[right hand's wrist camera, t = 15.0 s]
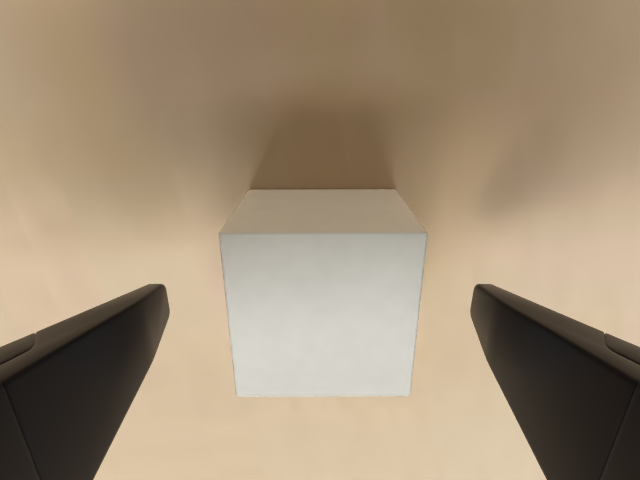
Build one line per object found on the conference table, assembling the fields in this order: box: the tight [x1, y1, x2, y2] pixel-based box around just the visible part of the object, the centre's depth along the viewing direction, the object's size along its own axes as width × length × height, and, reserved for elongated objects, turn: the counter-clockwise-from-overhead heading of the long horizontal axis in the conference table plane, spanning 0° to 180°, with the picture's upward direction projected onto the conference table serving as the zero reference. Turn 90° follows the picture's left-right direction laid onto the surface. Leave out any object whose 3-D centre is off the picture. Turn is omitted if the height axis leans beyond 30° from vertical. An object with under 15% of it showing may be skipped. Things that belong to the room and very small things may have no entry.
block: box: [219, 189, 427, 397], centre depth 12 cm, size 5×5×4 cm
